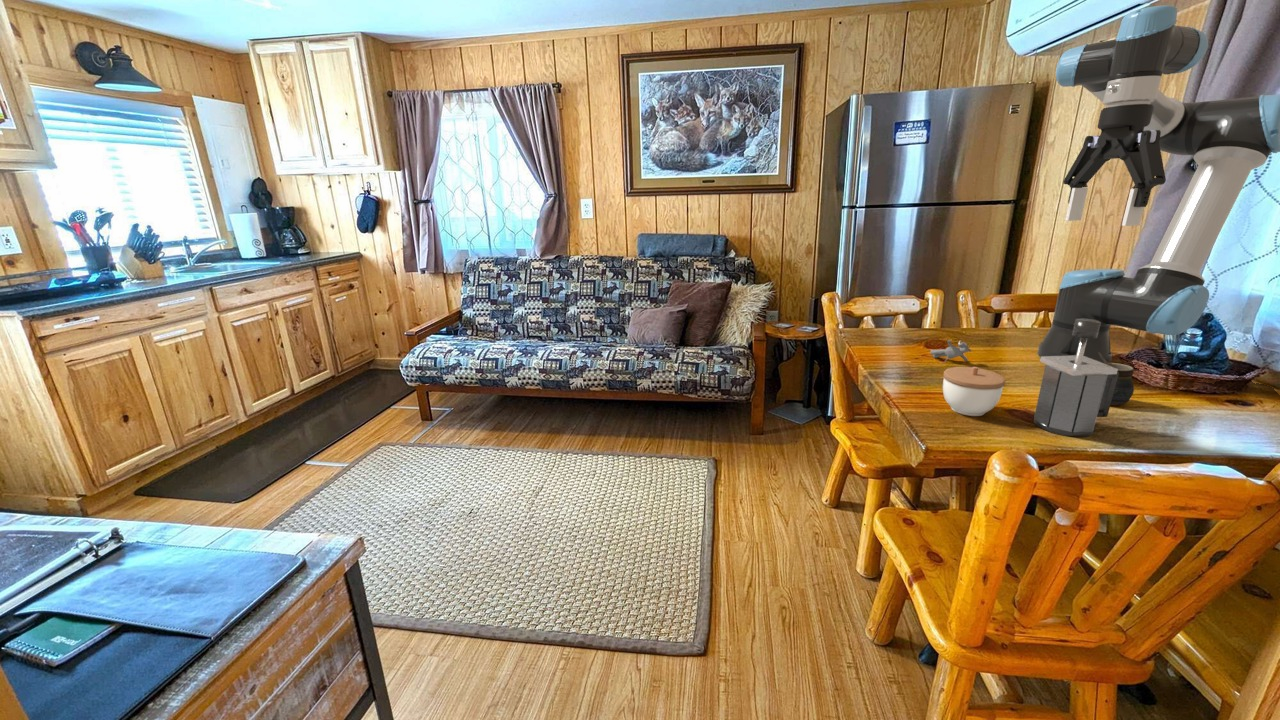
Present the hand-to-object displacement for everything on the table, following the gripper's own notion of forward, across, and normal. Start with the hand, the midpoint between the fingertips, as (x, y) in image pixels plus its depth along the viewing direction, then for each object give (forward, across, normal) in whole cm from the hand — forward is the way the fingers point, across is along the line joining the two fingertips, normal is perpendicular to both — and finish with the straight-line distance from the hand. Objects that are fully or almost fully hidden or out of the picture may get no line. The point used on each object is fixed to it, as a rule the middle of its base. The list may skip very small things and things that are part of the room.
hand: (1100, 223), depth 107 cm
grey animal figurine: (+37, -24, -11) cm, 46 cm away
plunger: (+34, +15, -11) cm, 39 cm away
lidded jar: (+37, +6, -24) cm, 44 cm away
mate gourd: (+37, +4, +7) cm, 38 cm away
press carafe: (+37, +15, -9) cm, 41 cm away
